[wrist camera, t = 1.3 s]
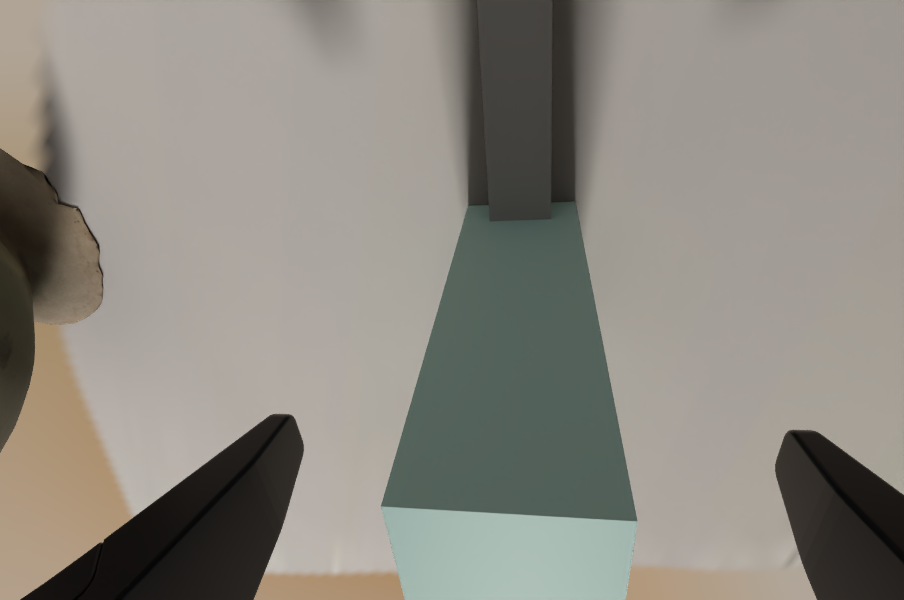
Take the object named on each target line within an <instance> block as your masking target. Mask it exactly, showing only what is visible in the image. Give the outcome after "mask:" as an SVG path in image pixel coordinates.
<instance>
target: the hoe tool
mask: <svg viewBox="0 0 904 600" xmlns="http://www.w3.org/2000/svg"><path fill="white" fill-rule="evenodd" d="M476 1H477V18H478V35H479V51H480V68H481V85H482V102H483V119H484V136H485V153H486V170H487V186H488V203H489V205H474V206H468V208H467V212H466V215H465V219H464V222H463V225H462V229H461V232H460V236H459V239H458V243H457V246H456V250H455V253H454V257H453V260H452V263H451V267H450V270H449V274H448V277H447V281H446V284H445V288H444V291H443V294H442V298H441V301H440V305H439V308H438V312H437V315H436V319H435V322H434V325H433V329H432V332H431V336H430V339H429V343H428V346H427V350H426V353H425V356H424V360H423V363H422V367H421V370H420V374H419V377H418V381H417V384H416V387H415V391H414V394H413V398H412V401H411V405H410V408H409V412H408V415H407V418H406V422H405V425H404V429H403V432H402V436H401V439H400V443H399V446H398V450H397V453H396V456H395V460H394V463H393V467H392V470H391V474H390V477H389V481H388V484H387V487H386V491H385V494H384V498H383V501H382V505H381V509H382V513H383V517H384V520H385V524H386V528H387V532H388V536H389V540H390V544H391V548H392V552H393V556H394V559H395V563H396V567H397V571H398V575H399V579H400V583H401V586H402V590H403V594H404V598H405V600H626V594H627V588H628V581H629V574H630V568H631V561H632V554H633V548H634V541H635V534H636V528H637V517H636V512H635V507H634V501H633V496H632V491H631V486H630V481H629V476H628V470H627V465H626V460H625V455H624V450H623V445H622V439H621V434H620V429H619V424H618V419H617V414H616V409H615V403H614V398H613V393H612V388H611V383H610V378H609V372H608V367H607V362H606V357H605V352H604V347H603V341H602V336H601V331H600V326H599V321H598V316H597V311H596V305H595V300H594V295H593V290H592V285H591V280H590V274H589V269H588V264H587V259H586V254H585V249H584V243H583V238H582V233H581V228H580V223H579V218H578V213H577V207H576V202H575V201H574V202H551V148H552V11H553V0H476Z"/></svg>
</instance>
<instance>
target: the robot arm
mask: <svg viewBox="0 0 904 600" xmlns="http://www.w3.org/2000/svg"><path fill="white" fill-rule="evenodd" d="M303 452H304V445H303V440H302V438H301V435H300V432H299V429H298V426H297V423H296V420H295V418H294V417H293V416H292V415H290V414H272V415H270V416H269V417H267V418H266V419H264V420H263V421H262V422H260V423H259V424H258V425H256V426H255V427H254V428H252V429H251V430H250V431H248V432H247V433H246V434H244V435H243V436H242V437H240V438H239V439H238V440H236V441H235V442H234V443H232V444H231V445H230V446H228V447H227V448H226V449H224V450H223V451H222V452H220V453H219V454H218V455H216V456H215V457H214V458H212V459H211V460H210V461H208V462H207V463H206V464H204V465H203V466H202V467H200V468H199V469H198V470H196V471H195V472H194V473H192V474H191V475H190V476H188V477H187V478H186V479H184V480H183V481H182V482H180V483H179V484H178V485H176V486H175V487H174V488H172V489H171V490H170V491H168V492H167V493H166V494H164V495H163V496H162V497H160V498H159V499H158V500H156V501H155V502H154V503H152V504H151V505H150V506H148V507H147V508H146V509H144V510H143V511H142V512H140V513H139V514H137V515H136V516H135V517H133V518H132V519H131V520H129V521H128V522H127V523H126V524H124V525H123V526H122V527H120V528H119V529H118V530H116V531H115V532H113V533H112V534H111V535H109V536H108V537H107V538H106V539H104V542H103V543H99V544H97V545H96V546H95V547H93V548H92V549H91V550H89V551H88V552H87V553H85V554H84V555H83V556H81V557H80V558H78V559H77V560H76V561H74V562H73V563H72V564H70V565H69V566H67V567H66V568H65V569H63V570H62V571H61V572H59V573H58V574H56V575H55V576H54V577H52V578H51V579H50V580H48V581H47V582H45V583H44V584H42V585H41V586H40V587H38V588H37V589H35V590H34V591H32V592H31V593H29V594H28V595H26V596H25V597H23V598H22V599H21V600H254V597H255V595H256V592H257V590H258V587H259V584H260V582H261V579H262V577H263V575H264V572H265V570H266V567H267V565H268V562H269V560H270V557H271V555H272V552H273V550H274V547H275V545H276V542H277V540H278V537H279V534H280V532H281V529H282V526H283V523H284V520H285V517H286V513H287V510H288V506H289V503H290V499H291V496H292V492H293V489H294V485H295V482H296V478H297V475H298V471H299V468H300V464H301V460H302V457H303ZM775 472H776V477H777V481H778V484H779V487H780V491H781V494H782V498H783V501H784V504H785V508H786V511H787V514H788V518H789V521H790V525H791V528H792V531H793V535H794V538H795V542H796V545H797V548H798V551H799V555H800V558H801V561H802V564H803V566H804V569H805V571H806V574H807V577H808V579H809V581H810V584H811V586H812V589H813V591H814V593H815V596H816V598H817V600H904V495H903V494H902V493H900V492H899V491H898V490H896V489H895V488H894V487H892V486H891V485H889V484H888V483H887V482H885V481H884V480H883V479H881V478H880V477H879V476H877V475H876V474H874V473H873V472H872V471H870V470H869V469H868V468H866V467H865V466H864V465H862V464H861V463H859V462H858V461H857V460H855V459H854V458H853V457H851V456H850V455H849V454H847V453H846V452H844V451H843V450H842V449H840V448H839V447H838V446H836V445H835V444H834V443H832V442H831V441H829V440H828V439H827V438H825V437H824V436H823V435H821V434H820V433H818V432H816V431H812V430H790V431H788V432H787V433H786V434H785V436H784V439H783V442H782V445H781V448H780V451H779V454H778V457H777V460H776V464H775Z"/></svg>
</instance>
